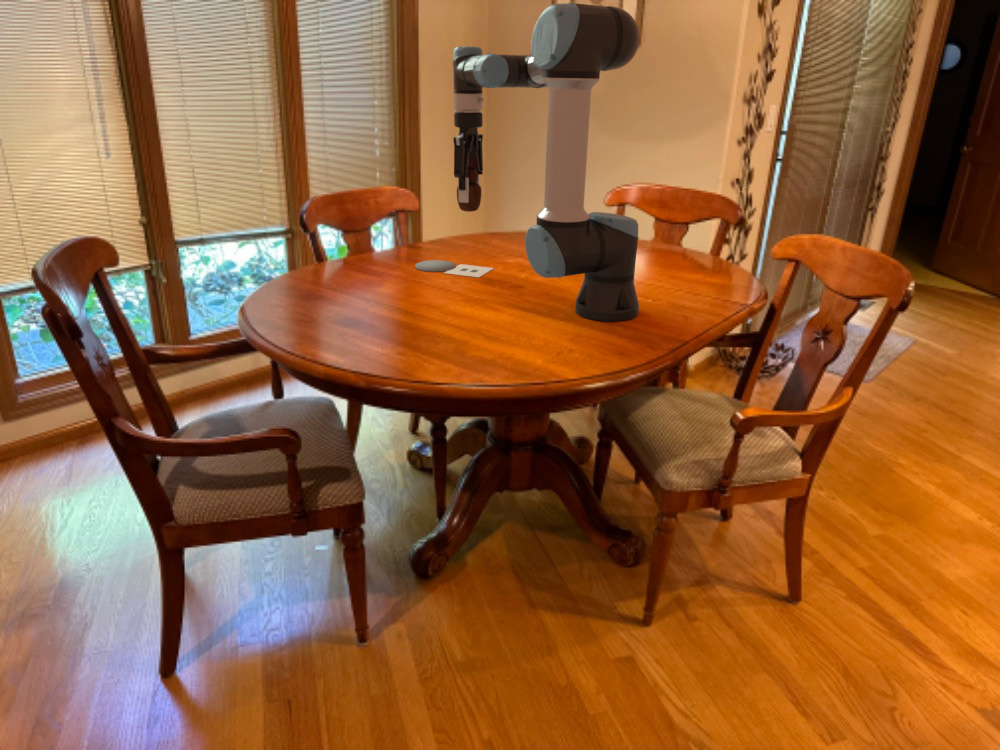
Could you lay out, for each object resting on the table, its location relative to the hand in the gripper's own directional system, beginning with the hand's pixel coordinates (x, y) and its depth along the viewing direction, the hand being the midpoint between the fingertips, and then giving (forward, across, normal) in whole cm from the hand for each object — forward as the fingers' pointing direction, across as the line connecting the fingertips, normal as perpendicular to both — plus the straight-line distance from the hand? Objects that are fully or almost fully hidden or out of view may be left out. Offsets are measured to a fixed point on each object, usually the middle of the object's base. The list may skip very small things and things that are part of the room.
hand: (469, 200), depth 190 cm
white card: (+20, 0, 0) cm, 20 cm away
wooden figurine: (+3, 0, 0) cm, 3 cm away
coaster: (+20, 0, +11) cm, 23 cm away
